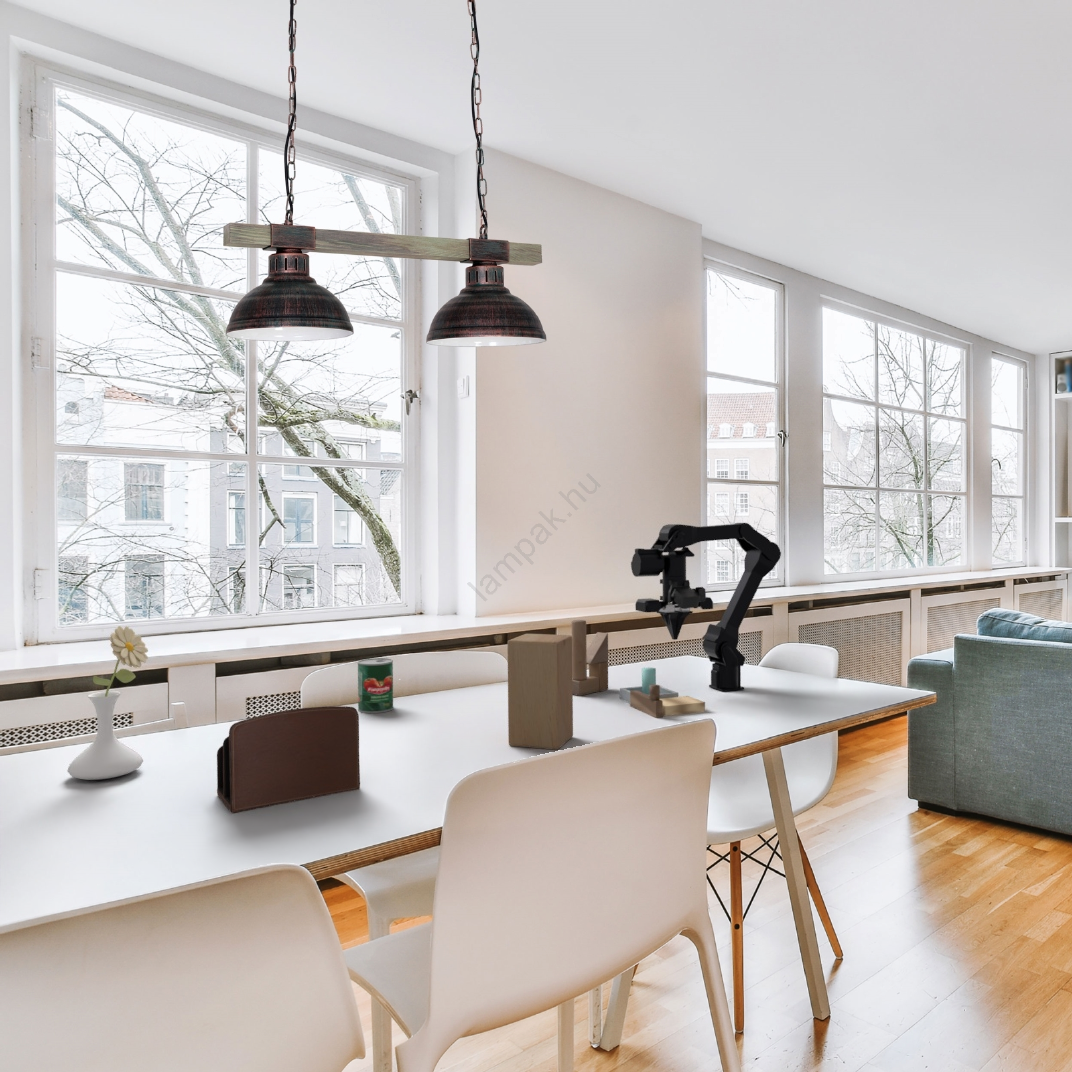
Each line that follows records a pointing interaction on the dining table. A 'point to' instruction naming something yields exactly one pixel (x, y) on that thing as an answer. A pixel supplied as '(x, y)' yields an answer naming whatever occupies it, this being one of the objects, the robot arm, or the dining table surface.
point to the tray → (626, 691)
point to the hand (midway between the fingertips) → (674, 639)
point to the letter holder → (289, 757)
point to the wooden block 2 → (588, 660)
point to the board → (682, 705)
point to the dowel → (648, 679)
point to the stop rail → (648, 701)
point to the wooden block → (540, 691)
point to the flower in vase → (111, 717)
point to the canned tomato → (375, 685)
